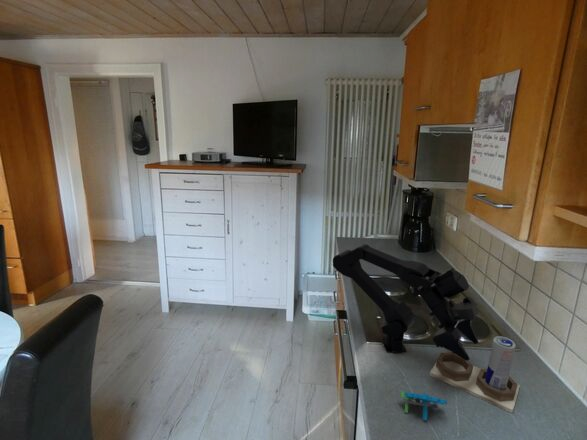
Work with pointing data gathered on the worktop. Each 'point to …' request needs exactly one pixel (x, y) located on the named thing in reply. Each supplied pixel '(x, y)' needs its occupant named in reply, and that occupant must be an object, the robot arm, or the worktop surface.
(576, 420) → the worktop surface
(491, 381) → the beverage can
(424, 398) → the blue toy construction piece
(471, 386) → the socket plate
